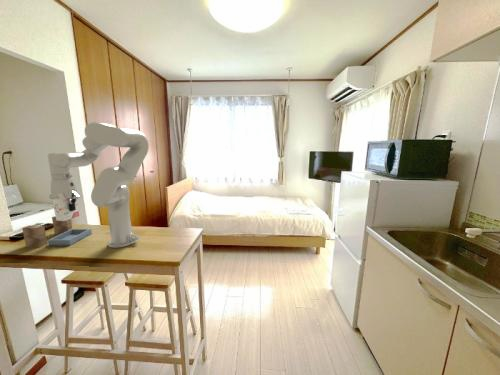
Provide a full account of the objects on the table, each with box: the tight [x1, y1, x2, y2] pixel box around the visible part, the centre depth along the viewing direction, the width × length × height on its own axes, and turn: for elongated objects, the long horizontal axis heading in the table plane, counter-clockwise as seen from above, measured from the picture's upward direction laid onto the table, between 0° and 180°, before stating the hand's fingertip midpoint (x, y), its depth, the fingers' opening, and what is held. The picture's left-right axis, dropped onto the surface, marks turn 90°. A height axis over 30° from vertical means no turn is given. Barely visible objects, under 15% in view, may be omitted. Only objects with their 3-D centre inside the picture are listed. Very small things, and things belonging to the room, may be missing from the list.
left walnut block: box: [22, 225, 48, 248], centre depth 107 cm, size 8×3×10 cm, turn 90°
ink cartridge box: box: [51, 193, 80, 221], centre depth 111 cm, size 9×5×15 cm, turn 169°
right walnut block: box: [51, 215, 73, 235], centre depth 122 cm, size 8×3×10 cm, turn 90°
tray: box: [47, 228, 93, 247], centre depth 114 cm, size 11×15×3 cm
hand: (66, 210), depth 111 cm, fingers closed on ink cartridge box, 5 cm apart
